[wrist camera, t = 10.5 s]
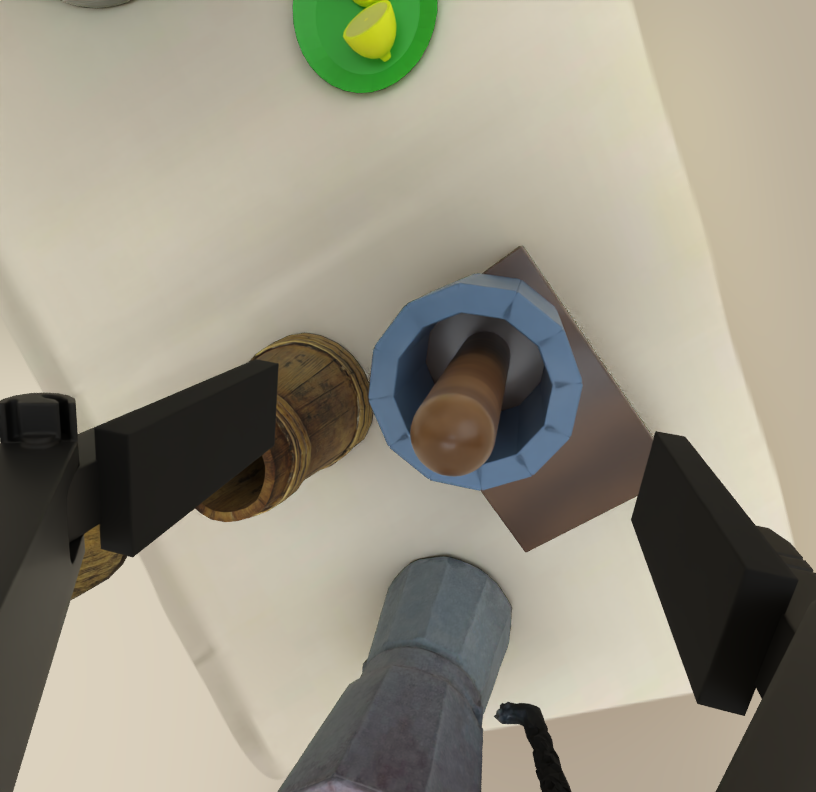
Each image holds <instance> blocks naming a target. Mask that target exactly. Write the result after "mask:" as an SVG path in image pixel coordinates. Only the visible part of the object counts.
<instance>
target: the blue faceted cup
mask: <svg viewBox="0 0 816 792" xmlns="http://www.w3.org/2000/svg"><path fill="white" fill-rule="evenodd" d="M460 313H467V314H473V315H480V316H486V317H493V318H499V319H505V320H506V321H507V322H508V323H509V324H511V325H512V326H513V327H514V328H516V329H517V330H518V331H519V332H521V333H522V334H523V335H524V336H526V337H527V338H528V339H529V340H531V341H532V342H533V343H534V344H536V345H537V346H538V349H539V351H540V354H541V357H542V360H543V362H544V369H543V374H542V379H541V383H540V384H539V385H538V386H537V387H536V388H535V389H534V390H533V391H532V392H531V394H530V395H529V396H528V397H527V398H526V399H525V400H524V401H523V402H522V403H521V405H519V406H516V407H513V408H510V409H507V410H504V411H501V413H500V419H499V424H498V430H497V435H496V441H495V445H494V448H493V451H492V453H491V455H490V457H489V458H488V459H487V461H486V462H485V463H484V464H483V465H482V466H481V467H480V468H478V469H477V470H475V471H473V472H471V473H469V474H466V475H463V476H455V477H453V476H444V475H441V474H438V473H435V472H433V471H432V470H430V469H428V468H427V467H426V466H425V465H424V464H423V463H422V462H421V461H420V460H419V459H418V457H417V456H416V454H415V452H414V450H413V447H412V444H411V438H410V430H411V423H412V420H413V417H414V415H415V413H416V411H417V410H418V408H419V407H420V405H421V404H422V402H423V401H424V399H425V398H426V397H427V395H428V394H429V392H430V391H431V389H432V388H433V386H434V382H433V380H432V377H431V375H430V372H429V370H428V367H427V365H426V355H427V348H428V341H429V333H430V331H431V330H432V329H433V328H434V326H435V325H436V324H437V322H439V321H442V320H444V319H447V318H449V317H452V316H455V315H457V314H460ZM582 387H583V384H582V378H581V375H580V372H579V370H578V367H577V364H576V361H575V358H574V355H573V353H572V350H571V347H570V344H569V341H568V338H567V336H566V333H565V330H564V327H563V325H562V322H561V320H560V317H559V314H558V312H557V310H556V309H555V306H553V305H552V304H551V303H550V302H548V301H547V300H546V299H545V298H543V297H542V296H541V295H540V294H539V293H537V292H536V291H535V290H534V289H532V288H531V287H530V286H529V285H527V284H526V283H525V282H524V281H522V280H521V281H520V279H516V278H509V277H502V276H494V275H487V274H480V273H477V274H472V275H470V276H468V277H465V278H463V279H460V280H458V281H455V282H453V283H451V284H448V285H446V286H443V287H441V288H439V289H436V290H434V291H432V292H430V293H428V294H426V295H424V296H422V297H420V298H418V299H416V300H413V301H411V302H409V303H408V304H407V305H405V306H404V307H403V308H402V310H401V311H400V312H399V314H398V315H397V317H396V318H395V319H394V321H393V322H392V323H391V325H390V326H389V327H388V329H387V330H386V331H385V333H384V334H383V335H382V337H381V338H380V339H379V341H378V342H377V343H376V345H375V348H374V349H373V357H372V366H371V376H370V385H369V395H368V398H369V403H370V405H371V407H372V410H373V412H374V414H375V417H376V419H377V421H378V424H379V426H380V428H381V431H382V433H383V435H384V438H385V440H386V442H387V445H388V446H390V448H391V449H392V450H393V451H394V452H395V453H397V454H398V455H399V456H400V457H402V458H403V459H404V460H405V461H407V462H408V463H409V464H410V465H412V466H413V467H414V468H415V469H417V470H418V471H419V472H420V473H421V474H423V475H424V476H425V477H426V478H428V479H429V478H430V480H431V481H436V482H441V483H446V484H450V485H455V486H460V487H465V488H469V489H474V490H479V491H480V490H486V489H489V488H493V487H496V486H500V485H503V484H507V483H510V482H514V481H517V480H521V479H524V478H528V477H531V476H532V475H534V474H535V473H536V472H537V471H538V470H539V469H540V468H541V467H542V466H543V465H544V464H545V463H546V462H547V461H548V460H549V459H550V458H551V457H552V456H553V455H554V454H555V453H556V452H557V451H558V450H559V449H560V448H561V447H562V446H563V445H564V444H565V443H566V442H567V441H568V440H569V438H570V436H571V435H572V430H573V426H574V422H575V417H576V413H577V409H578V404H579V400H580V395H581V391H582Z"/></svg>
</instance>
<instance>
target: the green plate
mask: <svg viewBox="0 0 816 792" xmlns="http://www.w3.org/2000/svg"><path fill="white" fill-rule="evenodd" d="M436 16H437V0H293V23H294V28H295V33H296V38H297V41H298V43H299V46H300V48H301V51H302V53H303V55H304V57H305V58H306V60H307V62H308V63H309V65H310V66H311V67H312V69H313V70H314V71H315V72H316V73H317V74H318V75H319V76H320V77H321V78H322V79H324V80H325V81H327V82H328V83H329V84H331V85H332V86H335V87H337V88H339V89H342V90H344V91H350V92H355V93H366V92H374V91H377V90H381V89H384V88H386V87H388V86H390V85H392V84H394V83H396V82H398V81H399V80H400V79H401V78H403V77H404V76H405V75H406V74H407V73H409V72H410V71H411V69H412V68H413V67H414V66H415V65H416V63H417V62H418V61H419V60H420V58H421V57H422V55H423V53H424V51H425V50H426V48H427V46H428V44H429V41H430V38H431V36H432V33H433V30H434V26H435V21H436Z"/></svg>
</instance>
